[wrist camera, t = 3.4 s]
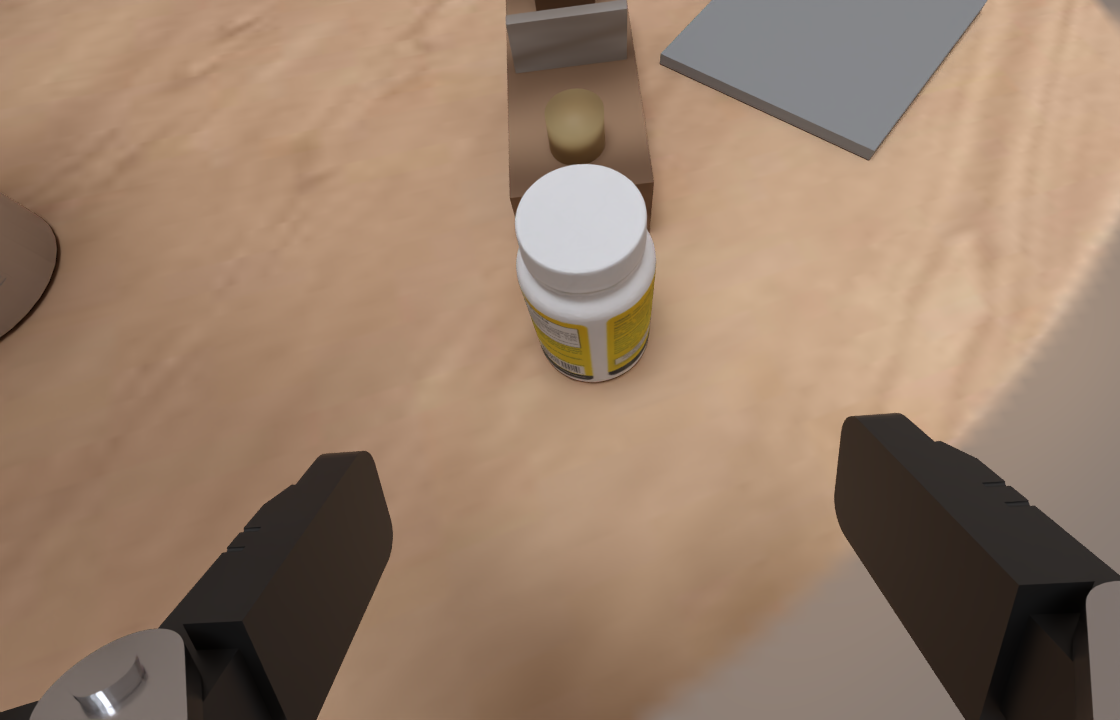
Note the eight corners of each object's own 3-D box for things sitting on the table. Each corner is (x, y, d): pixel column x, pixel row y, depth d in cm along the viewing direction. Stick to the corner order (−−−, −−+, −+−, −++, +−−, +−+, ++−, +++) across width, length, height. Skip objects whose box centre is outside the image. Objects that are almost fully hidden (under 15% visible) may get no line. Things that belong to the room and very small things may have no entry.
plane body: (649, 232, 25) (660, 112, 19) (523, 245, 26) (491, 132, 19) (620, 28, 31) (621, -121, 24) (517, 42, 31) (490, -101, 25)
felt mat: (659, 63, 29) (660, 53, 29) (776, -60, 32) (779, -71, 32) (868, 160, 26) (874, 150, 25) (980, 11, 28) (987, 0, 28)
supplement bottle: (639, 280, 24) (650, 142, 17) (656, 377, 23) (676, 272, 15) (535, 294, 25) (498, 164, 17) (544, 391, 23) (505, 295, 15)
